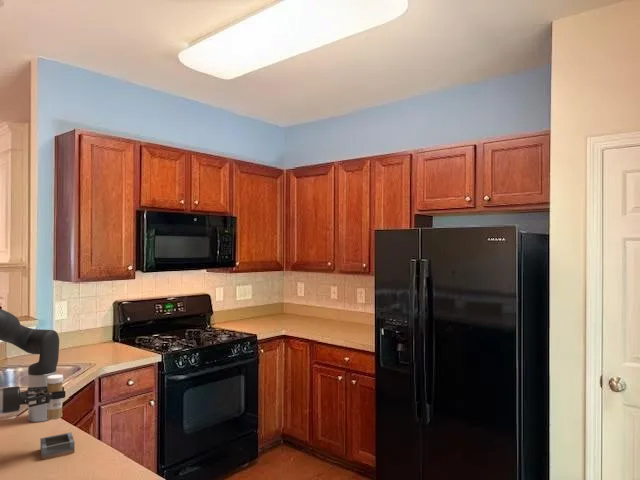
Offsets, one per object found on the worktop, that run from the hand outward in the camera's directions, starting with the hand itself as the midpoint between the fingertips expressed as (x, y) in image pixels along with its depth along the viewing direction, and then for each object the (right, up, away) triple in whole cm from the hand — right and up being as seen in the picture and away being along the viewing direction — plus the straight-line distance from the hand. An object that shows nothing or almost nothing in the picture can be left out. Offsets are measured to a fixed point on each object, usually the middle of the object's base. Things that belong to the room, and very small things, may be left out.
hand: (64, 392), depth 155 cm
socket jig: (0, -18, -4) cm, 18 cm away
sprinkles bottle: (-2, -8, -2) cm, 8 cm away
